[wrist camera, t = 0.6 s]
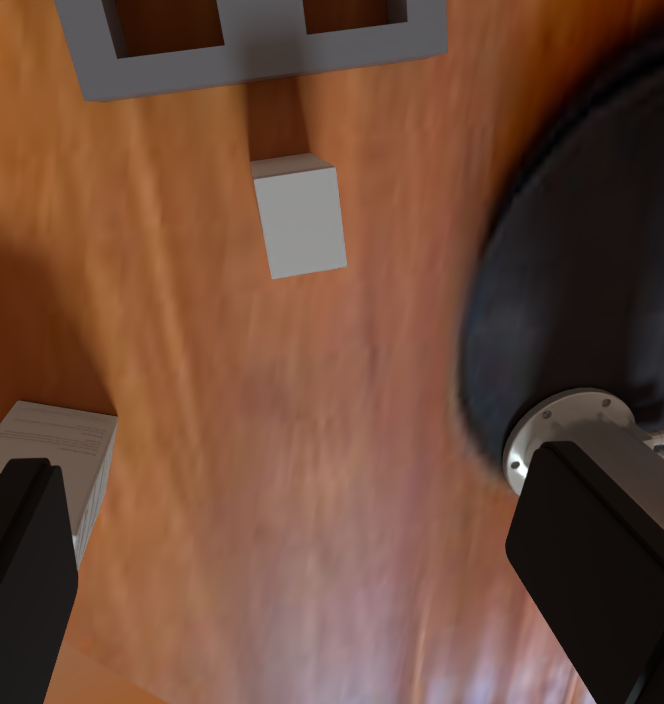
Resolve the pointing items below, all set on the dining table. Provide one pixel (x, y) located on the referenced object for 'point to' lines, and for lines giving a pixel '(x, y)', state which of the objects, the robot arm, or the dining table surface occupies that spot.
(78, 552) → the supplement box
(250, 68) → the power strip
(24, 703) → the robot arm
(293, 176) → the plug
